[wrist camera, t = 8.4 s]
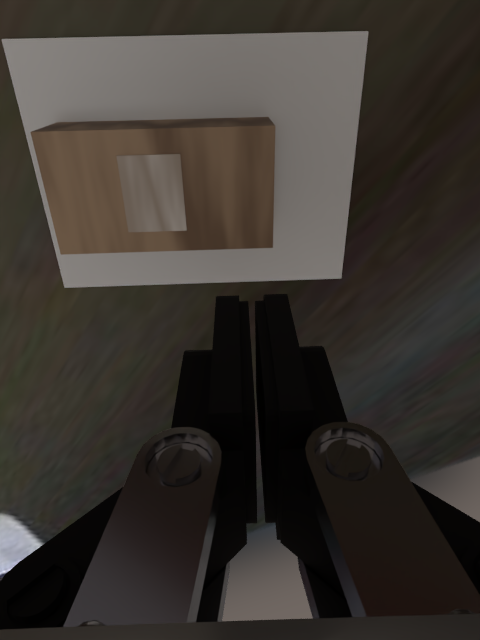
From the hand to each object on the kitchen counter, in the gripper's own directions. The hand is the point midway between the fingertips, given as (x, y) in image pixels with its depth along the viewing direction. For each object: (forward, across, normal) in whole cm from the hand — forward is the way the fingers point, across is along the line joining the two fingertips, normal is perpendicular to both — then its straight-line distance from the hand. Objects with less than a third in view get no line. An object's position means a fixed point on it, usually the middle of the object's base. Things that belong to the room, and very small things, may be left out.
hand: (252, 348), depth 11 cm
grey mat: (+26, +3, +2) cm, 26 cm away
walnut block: (+23, -2, +2) cm, 23 cm away
